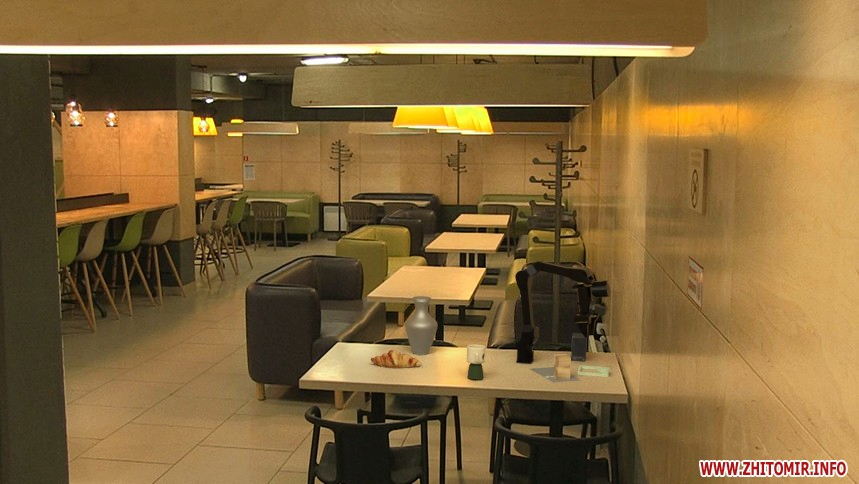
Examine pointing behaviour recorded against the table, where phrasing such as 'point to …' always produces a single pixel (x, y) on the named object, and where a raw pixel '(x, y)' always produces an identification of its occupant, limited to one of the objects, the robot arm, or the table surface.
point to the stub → (562, 366)
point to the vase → (421, 327)
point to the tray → (603, 370)
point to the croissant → (396, 360)
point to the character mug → (475, 361)
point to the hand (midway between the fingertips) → (589, 336)
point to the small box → (578, 347)
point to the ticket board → (552, 374)
